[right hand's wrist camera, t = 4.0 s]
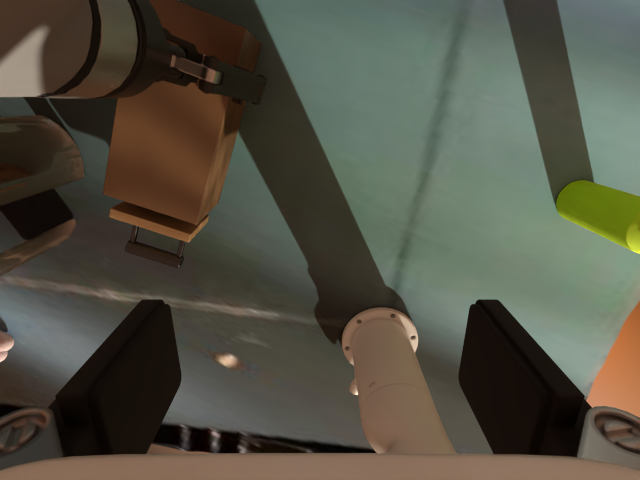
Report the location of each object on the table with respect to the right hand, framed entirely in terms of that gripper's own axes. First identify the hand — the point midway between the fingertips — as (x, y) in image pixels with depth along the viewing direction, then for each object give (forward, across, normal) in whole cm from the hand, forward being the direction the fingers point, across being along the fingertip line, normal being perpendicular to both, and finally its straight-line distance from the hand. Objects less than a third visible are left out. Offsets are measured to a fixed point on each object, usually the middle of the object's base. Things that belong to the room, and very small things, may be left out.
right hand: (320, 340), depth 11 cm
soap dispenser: (+42, -37, +7) cm, 57 cm away
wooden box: (+42, +16, -5) cm, 46 cm away
